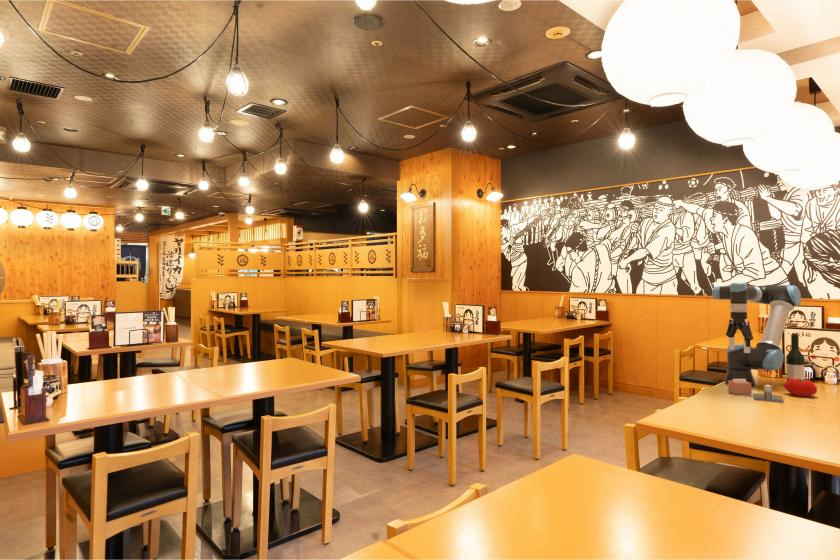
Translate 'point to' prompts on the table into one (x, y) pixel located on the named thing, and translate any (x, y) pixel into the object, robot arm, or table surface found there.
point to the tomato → (800, 387)
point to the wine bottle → (795, 360)
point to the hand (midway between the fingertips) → (739, 351)
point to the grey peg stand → (768, 395)
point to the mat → (740, 394)
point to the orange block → (739, 386)
